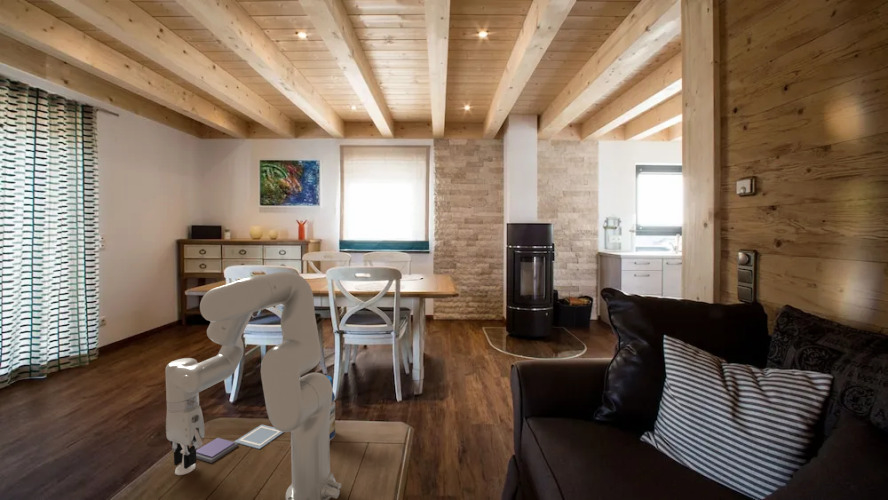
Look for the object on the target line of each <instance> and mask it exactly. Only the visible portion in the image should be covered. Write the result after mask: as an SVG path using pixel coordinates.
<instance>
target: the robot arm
mask: <svg viewBox="0 0 888 500" xmlns="http://www.w3.org/2000/svg"><path fill="white" fill-rule="evenodd" d="M314 300H315V299H314V293H313V290H312V287H311V285H310V283H309V282H308V281H307V280H306V279H305V277H303V276H302V275H300V274H297V273H294V272H289V271H280V272H273V273H267V274H262V275H255V276H250V277H245V278H241V279H239V280H236V281H234V282H230V283H227V284H224V285H221V286H217V287H214V288H211V289H210V290H208V291H207V292H206V293H205V294H204V295H203V296H202V297H201V300H200V304H199V311H200V315H201V316H202V318H204V319H205V320H206V321H209V322H210V323H209V325H208V327H207V329H206V336H207V337H208V339H209V340H210V341H212V342H213V343H215V344H218V345H220V346H221V348H220V349H219V351H218V354H216V355H215V356H212V357H210V358H208V359H205V360H202V361H201V362H198V361H197V359H195V358H191V357H184V358H178V359H175V360H172V361H170V362H169V363H168V364H166V367H165V369H164V370H165V391H166V393H165V395H166V399H165V400H166V419H165V434H166V435H165V436H166V439H167V440H168V441H169V442H170V444H171V446H172V447H171V448H172V449H171V450H172V452H173V464H174V465H173V466H179V465H181V464H182V459H183V453H180V452H181V450H182V447H181V445H180V444H182V445H184V449H185V455H184V468H185V469H187V468H188V467H190V466H191V465H193V464H196V463H197V459H196V450H197V449H199V448H201V447H202V446H204V443H203V441H202V439H204V438H205V423H204V416H203V410H202V407H201V405H200V393H201V392H202V391H203V392H204V390H206V389H208V388H209V389H210V388H211V387H212V386H214V385H216V384H218V383H220V382H223V381H225V380H227V379H229V378H230V377H231V376H232V375H233V374H234V373H235V372H236V370H237V368H238V366H239V364H240V362H241V361H242V358H243V356H244V351H245V350H244V342H243V340H242V336H243V333H244V332H245V330H246V327H247V326H248V324H249V321H250V319H252V316H253V315H254V313H257V312H259V311H263V310H265V309H269V308H270V309H271V308H273V307H276V306H279V305H283V309H282V312H281V317H280V329H281V335H282V342H281V343H279V344H277V345H274V346H273V347H271V348H270V349H269V350H267V351H266V353H265V354H264V355H263V358H262V360H261V365H260V378H261V384H262V390H263V397H264V402H265V409H266V413H267V417H268V420H269V421H270V423H271V425H272V427H274V428H276V429H277V430H279V431H281V432H284V433H289V432H290V453H291V457H290V458H291V459H290V460H291V462H290V463H291V484H290V485H289V486H288V488H287V490H286V492H285V500H330V499H331V498H333V499H338V498H339V496H340V494H341V493H340V492H341V491H340V489H341V487H342V483H340V482H337V481H336V478H335V476H334V473H332V472H331V454H330V453H331V451H330V447H331V446H330V441H331V440H330V438H329V433H330V431H329V420H330V408H331V402H332V391H333V386H332V385H331V382H330V380H329V379H328V378H327V377H326V376H327V375H325V374H324V373H322V372H310V371H312V369H314V368H316V367H317V365H318V364H319V363H320V361H321V359H322V358H321V357H322V349H321V344H320V343H321V342H320V337H319V331H318V325H317V320H316V313H315V301H314ZM308 372H310V373H308Z"/></svg>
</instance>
